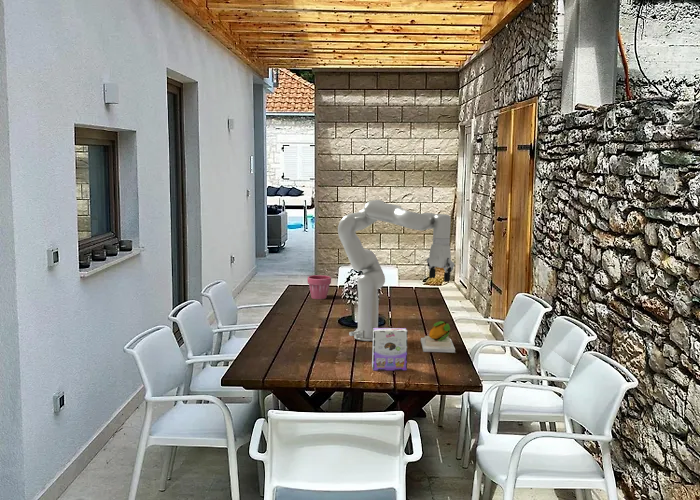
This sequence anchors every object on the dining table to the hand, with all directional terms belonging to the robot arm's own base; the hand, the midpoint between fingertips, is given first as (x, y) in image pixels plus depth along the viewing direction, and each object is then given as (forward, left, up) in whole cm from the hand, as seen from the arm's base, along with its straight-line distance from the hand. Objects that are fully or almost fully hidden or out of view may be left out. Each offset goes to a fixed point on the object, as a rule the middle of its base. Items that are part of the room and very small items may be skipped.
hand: (439, 279), depth 341 cm
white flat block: (0, 0, -31) cm, 31 cm away
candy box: (-42, -17, -31) cm, 55 cm away
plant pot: (+19, +126, -31) cm, 131 cm away
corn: (0, -1, -28) cm, 28 cm away
